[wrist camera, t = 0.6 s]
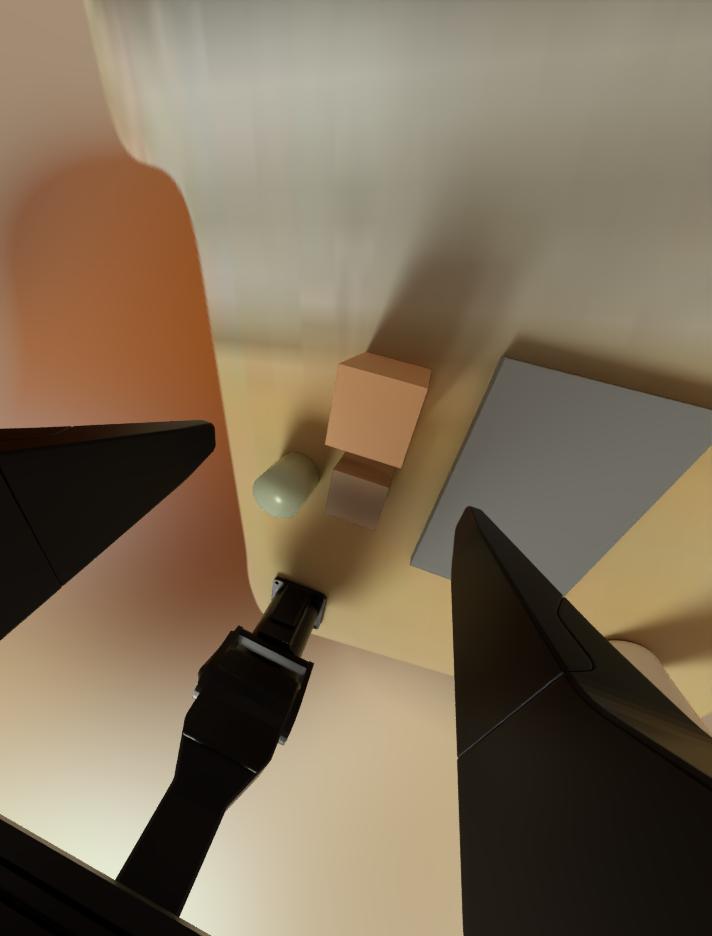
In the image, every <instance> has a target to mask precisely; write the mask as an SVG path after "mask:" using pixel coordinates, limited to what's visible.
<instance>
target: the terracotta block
mask: <svg viewBox="0 0 712 936" xmlns="http://www.w3.org/2000/svg"><path fill="white" fill-rule="evenodd" d="M430 375H431V369H428V368H424V367H421V366H417V365H413V364H409V363H406V362H402V361H398V360H394V359H391V358H387V357H383V356H379V355H376V354H372V353H368V352H365V353H362V354H360V355H358V356H355V357H353V358H351V359H348V360H346V361H344V362H341V363H339V364H338V369H337V375H336V381H335V387H334V393H333V399H332V405H331V411H330V417H329V423H328V429H327V435H326V441H325V445H328V446H331V447H334V448H337V449H340V450H344V451H347V452H350V453H353V454H356V455H359V456H363V457H366V458H369V459H372V460H375V461H378V462H382V463H385V464H388V465H391V466H394V467H397V468H400V469H401V466H402V463H403V460H404V458H405V455H406V452H407V449H408V446H409V443H410V440H411V437H412V434H413V431H414V428H415V425H416V422H417V420H418V417H419V414H420V411H421V408H422V405H423V402H424V399H425V396H426V393H427V390H428V386H429V380H430Z"/></svg>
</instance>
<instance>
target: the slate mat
mask: <svg viewBox="0 0 712 936" xmlns="http://www.w3.org/2000/svg"><path fill="white" fill-rule="evenodd" d="M711 445H712V409H709V408H705V407H701V406H697V405H693V404H689V403H685V402H681V401H677V400H673V399H669V398H665V397H661V396H657V395H653V394H649V393H645V392H641V391H638V390H634V389H630V388H626V387H622V386H618V385H614V384H610V383H606V382H602V381H598V380H594V379H590V378H586V377H582V376H578V375H574V374H570V373H566V372H562V371H558V370H554V369H551V368H547V367H543V366H539V365H535V364H531V363H527V362H523V361H519V360H515V359H511V358H507V357H503V356H502V357H501V360H500V362H499V364H498V366H497V368H496V371H495V373H494V375H493V377H492V379H491V382H490V384H489V386H488V388H487V390H486V393H485V395H484V397H483V399H482V402H481V404H480V406H479V408H478V410H477V413H476V415H475V417H474V419H473V421H472V424H471V426H470V428H469V430H468V432H467V435H466V437H465V439H464V441H463V444H462V446H461V448H460V450H459V452H458V455H457V457H456V459H455V461H454V463H453V466H452V468H451V470H450V472H449V474H448V477H447V479H446V481H445V483H444V485H443V488H442V490H441V492H440V494H439V497H438V499H437V501H436V503H435V505H434V508H433V510H432V512H431V514H430V516H429V519H428V521H427V523H426V525H425V527H424V530H423V532H422V534H421V536H420V538H419V541H418V543H417V545H416V547H415V550H414V552H413V554H412V556H411V562H410V565H411V566H413V567H416V568H419V569H422V570H425V571H427V572H430V573H433V574H436V575H439V576H441V577H444V578H447V579H450V580H451V566H452V555H453V545H454V534H455V528H456V525H457V523H458V521H459V520H460V518H461V516H462V514H463V512H464V510H465V508H466V507H467V506H472V507H475V508H478V509H481V510H482V511H483V512H484V513H485V514H486V515H487V516H488V517H489V518H490V519H491V520H492V521H493V522H494V523H495V524H496V526H497V527H498V528H499V529H500V530H501V531H502V532H503V533H504V534H505V535H506V536H507V537H508V538H509V539H510V540H511V541H512V542H513V543H514V544H515V545H516V546H517V548H518V549H519V550H520V551H521V552H522V553H523V554H524V555H525V556H526V557H527V558H528V559H529V560H530V561H531V562H532V563H533V564H534V565H535V566H536V567H537V568H538V570H539V571H540V572H541V573H542V574H543V575H544V576H545V577H546V578H547V579H548V580H549V581H550V582H551V583H552V584H553V585H554V586H555V587H556V588H557V589H558V590H559V592H560V593H561V594H562V595H563V597H564V596H565V595H566V594H567V593H568V592H569V591H570V590H571V589H572V588H573V587H574V586H575V585H576V584H577V583H578V582H579V581H580V580H581V579H582V578H583V577H584V576H585V575H586V574H587V573H588V571H589V570H590V569H591V568H592V567H593V566H594V565H595V564H596V563H597V562H598V561H599V560H600V559H601V558H602V557H603V556H604V555H605V554H606V553H607V552H608V551H609V550H610V549H611V548H612V547H613V546H614V545H615V544H616V543H617V542H618V541H619V540H620V539H621V538H622V536H623V535H624V534H625V533H626V532H627V531H628V530H629V529H630V528H631V527H632V526H633V525H634V524H635V523H636V522H637V521H638V520H639V519H640V518H641V517H642V516H643V515H644V514H645V513H646V512H647V511H648V510H649V509H650V508H651V507H652V506H653V505H654V504H655V503H656V502H657V500H658V499H659V498H660V497H661V496H662V495H663V494H664V493H665V492H666V491H667V490H668V489H669V488H670V487H671V486H672V485H673V484H674V483H675V482H676V481H677V480H678V479H679V478H680V477H681V476H682V475H683V474H684V473H685V472H686V471H687V470H688V469H689V468H690V467H691V466H692V464H693V463H694V462H695V461H696V460H697V459H698V458H699V457H700V456H701V455H702V454H703V453H704V452H705V451H706V450H707V449H708V448H709V447H710V446H711ZM563 597H562V598H563Z"/></svg>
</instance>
